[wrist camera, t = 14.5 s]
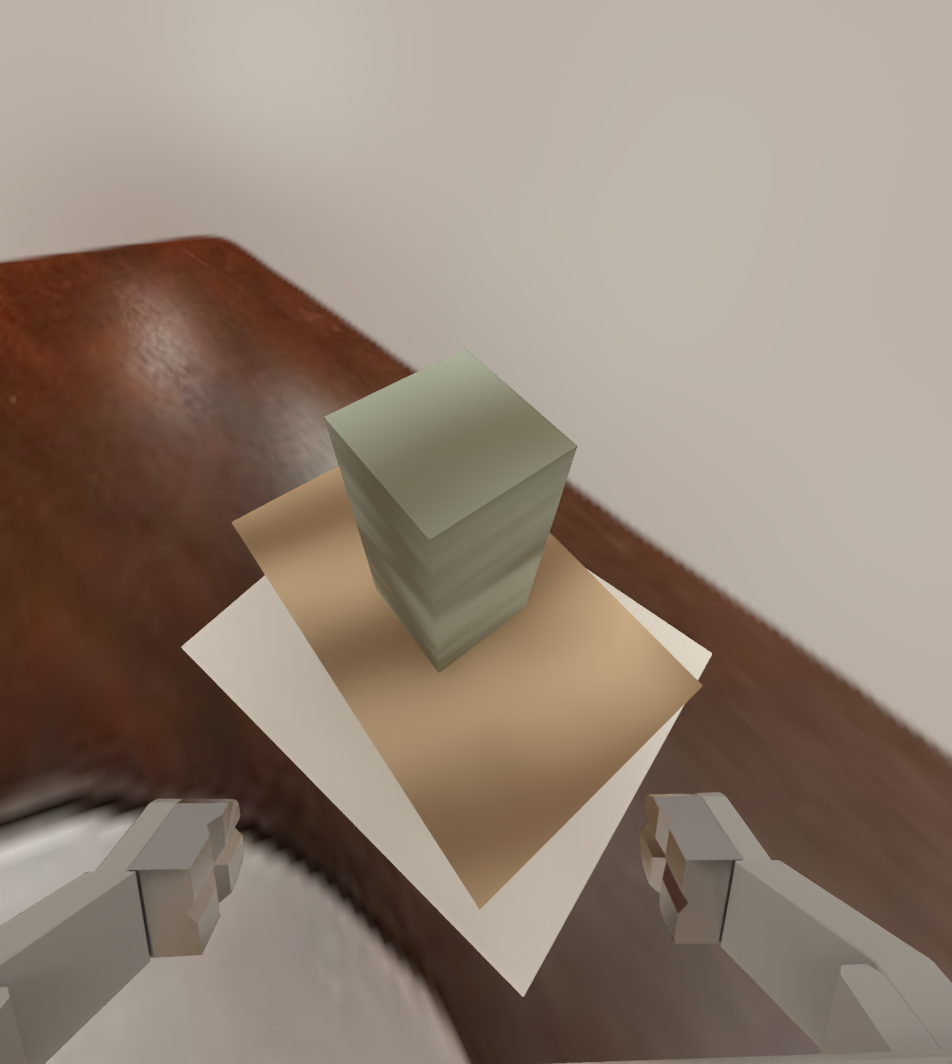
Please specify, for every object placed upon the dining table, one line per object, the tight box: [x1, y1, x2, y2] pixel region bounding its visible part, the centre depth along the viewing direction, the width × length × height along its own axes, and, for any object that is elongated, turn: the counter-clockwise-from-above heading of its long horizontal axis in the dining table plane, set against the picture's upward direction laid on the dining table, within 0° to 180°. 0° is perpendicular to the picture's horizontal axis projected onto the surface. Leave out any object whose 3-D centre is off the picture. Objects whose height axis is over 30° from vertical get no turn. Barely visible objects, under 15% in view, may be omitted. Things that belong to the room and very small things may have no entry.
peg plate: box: [181, 570, 712, 997], centre depth 22 cm, size 20×16×6 cm
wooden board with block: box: [232, 349, 703, 910], centre depth 15 cm, size 16×10×10 cm, turn 38°
